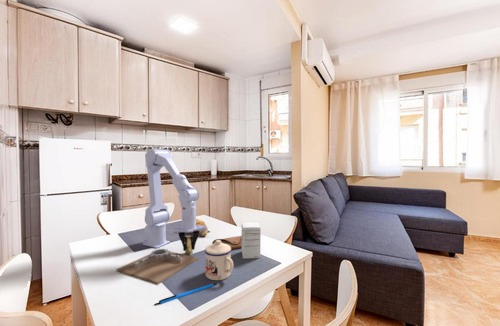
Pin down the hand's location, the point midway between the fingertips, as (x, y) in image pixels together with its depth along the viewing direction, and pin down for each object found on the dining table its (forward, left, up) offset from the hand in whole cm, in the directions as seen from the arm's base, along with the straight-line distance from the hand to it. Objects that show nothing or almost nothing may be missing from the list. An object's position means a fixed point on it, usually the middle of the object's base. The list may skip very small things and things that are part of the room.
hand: (188, 249), depth 96 cm
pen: (+19, -23, -2) cm, 30 cm away
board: (-3, -13, -2) cm, 13 cm away
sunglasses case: (+13, +15, -2) cm, 20 cm away
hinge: (-3, -13, -1) cm, 13 cm away
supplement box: (+24, +10, -2) cm, 26 cm away
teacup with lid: (+22, -10, -2) cm, 24 cm away
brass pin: (0, 0, -2) cm, 2 cm away
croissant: (-15, +24, -2) cm, 28 cm away
